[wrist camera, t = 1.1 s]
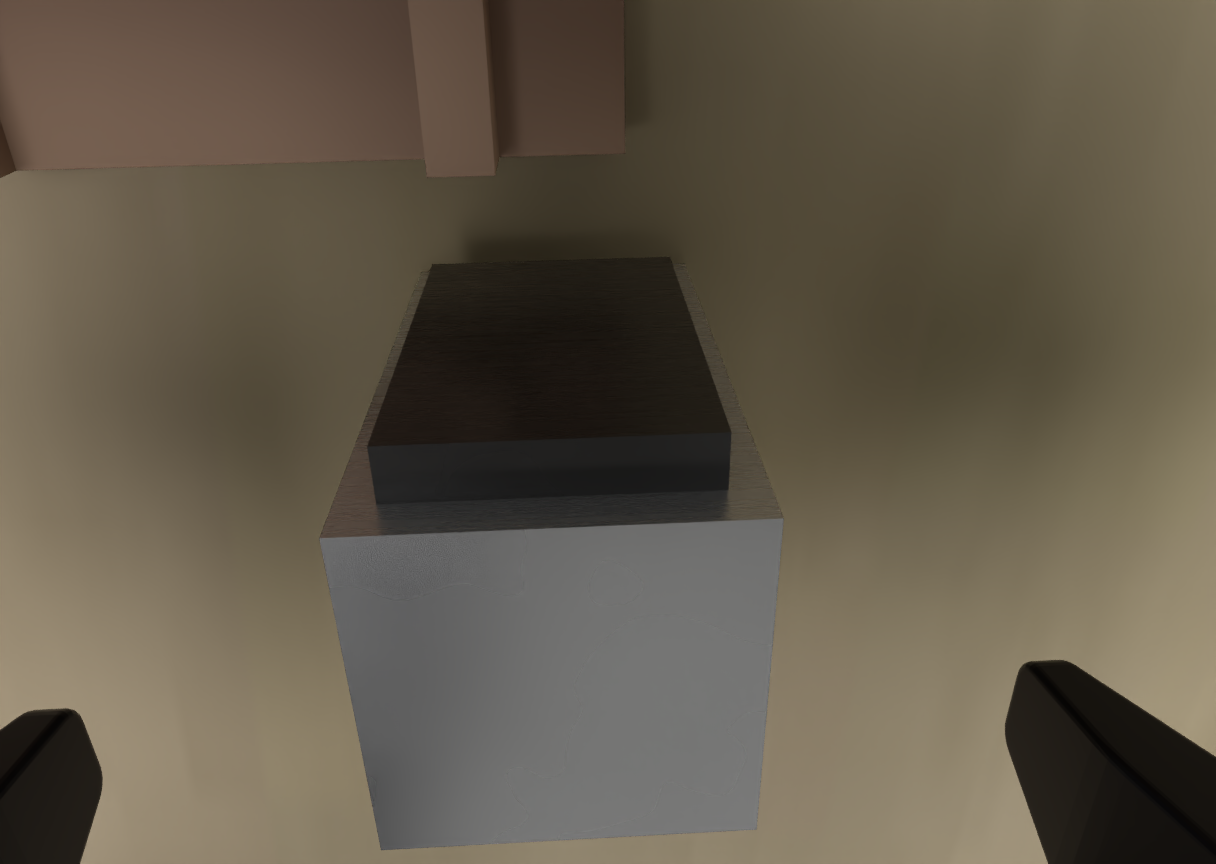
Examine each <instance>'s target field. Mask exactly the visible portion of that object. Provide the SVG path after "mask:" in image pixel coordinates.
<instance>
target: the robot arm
mask: <svg viewBox="0 0 1216 864" xmlns="http://www.w3.org/2000/svg"><path fill="white" fill-rule="evenodd" d="M1005 737H1006V743H1007V747H1008V750H1009V753H1010V756H1011V759H1012V762H1013V765H1014V767H1015V770H1016V773H1017V776H1018V779H1019V782H1020V785H1021V787H1022V790H1023V793H1024V796H1025V799H1026V802H1027V805H1028V808H1029V810H1030V813H1031V816H1032V819H1033V822H1034V825H1035V828H1036V830H1037V833H1038V836H1039V839H1040V842H1041V845H1042V848H1043V850H1044V853H1045V856H1046V859H1047V862H1048V864H1216V757H1215V756H1214V755H1212V754H1211V753H1209V752H1208V751H1206V750H1205V749H1203V748H1201V747H1200V746H1198V745H1197V744H1195V743H1194V742H1192V741H1191V740H1189V739H1188V738H1186V737H1185V736H1183V735H1182V734H1180V733H1178V732H1177V731H1175V730H1174V729H1172V728H1171V727H1169V726H1168V725H1166V724H1165V723H1163V722H1162V721H1160V720H1159V719H1157V718H1155V717H1154V716H1152V715H1151V714H1149V713H1148V712H1146V711H1145V710H1143V709H1142V708H1140V707H1139V706H1137V705H1136V704H1134V703H1132V702H1131V701H1129V700H1128V699H1126V698H1125V697H1123V696H1122V695H1120V694H1119V693H1117V692H1116V691H1114V690H1113V689H1111V688H1109V687H1108V686H1106V685H1105V684H1103V683H1102V682H1100V681H1099V680H1097V679H1096V678H1094V677H1093V676H1091V675H1090V674H1088V673H1086V672H1085V671H1083V670H1082V669H1080V668H1079V667H1077V666H1076V665H1074V664H1072V663H1070V662H1068V661H1064V660H1048V661H1030V662H1027V663H1025V664H1024V665H1022V667H1021V668H1020V669H1019V672H1018V675H1017V678H1016V682H1015V686H1014V690H1013V694H1012V698H1011V702H1010V706H1009V710H1008V714H1007V718H1006V723H1005ZM102 779H103V778H102V771H101V767H100V764H99V761H98V759H97V756H96V754H95V751H94V748H93V746H92V743H91V741H90V738H89V735H88V733H87V730H86V728H85V725H84V722H83V720H82V718H81V716H80V715H79V714H78V713H77V712H76V711H74V710H72V709H46V710H33V711H29V712H26V713H24V714H22V715H21V716H19V717H18V718H16V719H15V720H13V721H12V722H11V723H9V724H8V725H6V726H5V727H4V728H2V729H1V730H0V864H80V862H81V859H82V856H83V852H84V849H85V846H86V842H87V839H88V836H89V833H90V829H91V826H92V823H93V820H94V816H95V813H96V810H97V806H98V803H99V800H100V796H101V791H102Z"/></svg>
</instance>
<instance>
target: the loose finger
mask: <svg viewBox="0 0 1216 864" xmlns="http://www.w3.org/2000/svg"><path fill="white" fill-rule="evenodd" d="M783 521H784V518H783V515H782V513H781V510H780V508H779V505H778V502H777V500H776V497H775V495H774V492H773V490H772V487H771V484H770V482H769V479H768V477H767V474H766V472H765V469H764V466H763V464H762V461H761V459H760V456H759V454H758V451H757V448H756V446H755V443H754V441H753V438H752V436H751V433H750V430H749V428H748V425H747V423H746V420H745V418H744V415H743V412H742V410H741V407H740V405H739V402H738V400H737V397H736V394H735V392H734V389H733V387H732V384H731V382H730V379H729V376H728V374H727V371H726V369H725V366H724V364H723V361H722V358H721V356H720V353H719V351H718V348H717V346H716V343H715V340H714V338H713V335H712V333H711V330H710V328H709V325H708V322H707V320H706V317H705V315H704V312H703V310H702V307H701V304H700V302H699V299H698V297H697V294H696V292H695V289H694V286H693V284H692V281H691V279H690V276H689V274H688V271H687V268H686V266H685V264H672V262H671V259H670V257H650V258H618V259H587V260H556V261H524V262H493V263H462V264H432V267H431V270H430V272H421V274H420V277H419V279H418V282H417V285H416V287H415V290H414V292H413V295H412V298H411V300H410V303H409V305H408V308H407V311H406V313H405V316H404V319H403V321H402V324H401V326H400V329H399V332H398V334H397V337H396V339H395V342H394V345H393V347H392V350H391V352H390V355H389V358H388V360H387V363H386V365H385V368H384V371H383V373H382V376H381V379H380V381H379V384H378V386H377V389H376V392H375V394H374V397H373V399H372V402H371V405H370V407H369V410H368V412H367V415H366V418H365V420H364V423H363V425H362V428H361V431H360V433H359V436H358V439H357V441H356V444H355V446H354V449H353V452H352V454H351V457H350V459H349V462H348V465H347V467H346V470H345V472H344V475H343V478H342V480H341V483H340V485H339V488H338V491H337V493H336V496H335V499H334V501H333V504H332V506H331V509H330V512H329V514H328V517H327V519H326V522H325V525H324V527H323V530H322V532H321V535H320V538H319V539H320V544H321V549H322V555H323V560H324V565H325V570H326V575H327V580H328V585H329V590H330V595H331V600H332V605H333V610H334V615H335V620H336V625H337V630H338V635H339V640H340V645H341V650H342V655H343V660H344V665H345V670H346V675H347V680H348V685H349V691H350V696H351V701H352V706H353V711H354V716H355V721H356V726H357V731H358V736H359V741H360V746H361V751H362V756H363V761H364V766H365V771H366V776H367V781H368V786H369V791H370V796H371V801H372V806H373V811H374V816H375V821H376V827H377V832H378V837H379V842H380V847H381V850H392V849H410V848H428V847H446V846H465V845H483V844H501V843H519V842H537V841H555V840H574V839H592V838H610V837H628V836H646V835H665V834H683V833H701V832H719V831H737V830H755V829H757V818H758V806H759V795H760V783H761V772H762V761H763V749H764V738H765V726H766V715H767V704H768V692H769V681H770V669H771V658H772V647H773V635H774V624H775V612H776V601H777V590H778V578H779V567H780V556H781V544H782V533H783Z"/></svg>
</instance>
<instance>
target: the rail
mask: <svg viewBox="0 0 1216 864" xmlns="http://www.w3.org/2000/svg"><path fill="white" fill-rule="evenodd" d="M592 154H625V52H624V0H0V178H1V177H3V176H5V175H8V174H10V173H12V172H14V171H18V170H54V169H90V168H125V167H161V166H197V165H233V164H269V163H305V162H341V161H377V160H412V159H425V166H426V175H427V178H428V177H463V176H495V174H496V170H497V166H498V161H499V157H520V156H556V155H592Z"/></svg>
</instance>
